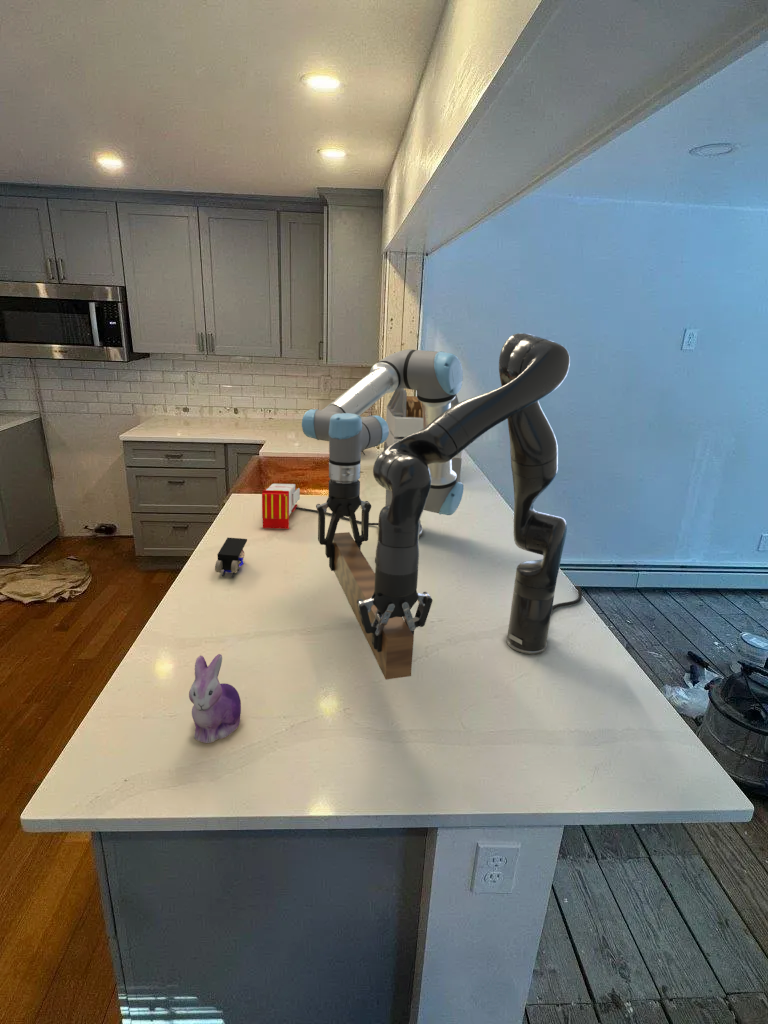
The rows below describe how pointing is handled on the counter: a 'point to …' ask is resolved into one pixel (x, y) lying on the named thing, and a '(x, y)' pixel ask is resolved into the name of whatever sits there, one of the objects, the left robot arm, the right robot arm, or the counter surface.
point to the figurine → (213, 702)
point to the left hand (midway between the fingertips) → (342, 567)
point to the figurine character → (230, 556)
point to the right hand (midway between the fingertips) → (392, 647)
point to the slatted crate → (410, 421)
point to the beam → (372, 608)
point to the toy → (279, 505)
